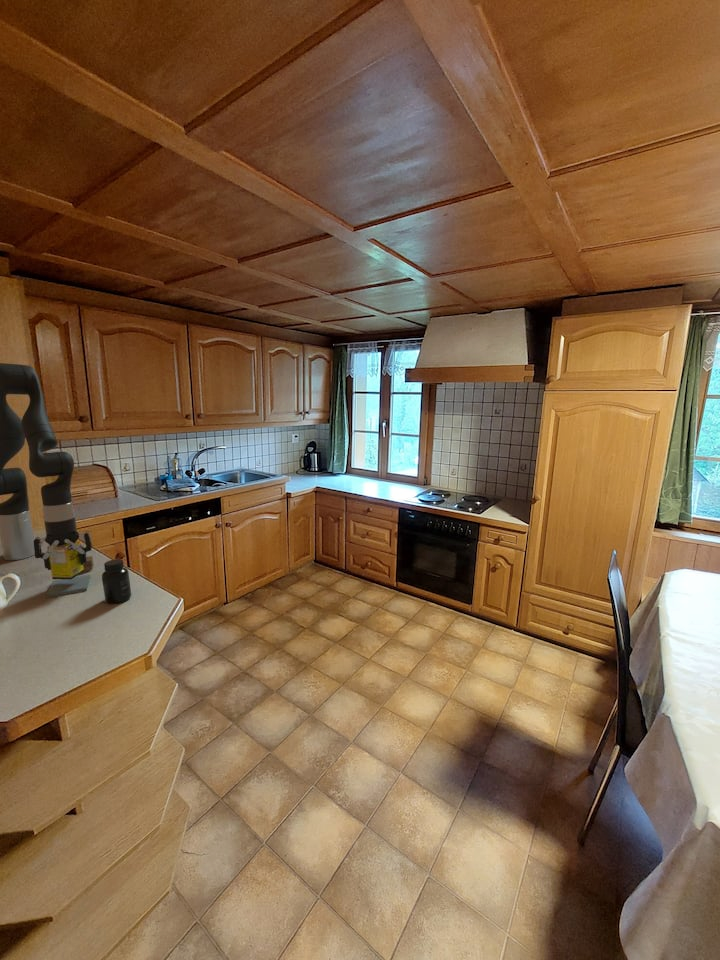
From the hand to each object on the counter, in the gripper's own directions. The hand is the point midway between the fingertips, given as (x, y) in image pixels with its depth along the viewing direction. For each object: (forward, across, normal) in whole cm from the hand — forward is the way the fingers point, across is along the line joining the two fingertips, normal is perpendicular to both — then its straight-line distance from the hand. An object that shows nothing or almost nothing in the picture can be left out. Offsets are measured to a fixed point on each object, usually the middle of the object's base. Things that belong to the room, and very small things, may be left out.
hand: (66, 566), depth 123 cm
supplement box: (+3, 0, 0) cm, 3 cm away
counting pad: (+7, 0, 0) cm, 7 cm away
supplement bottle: (+7, -14, +15) cm, 22 cm away
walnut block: (+7, -3, -13) cm, 15 cm away
